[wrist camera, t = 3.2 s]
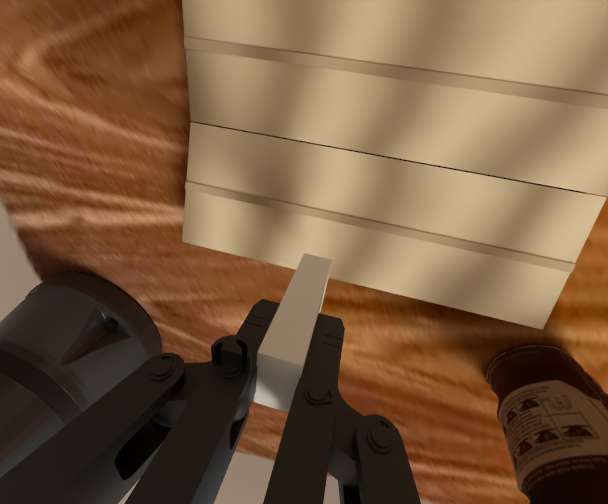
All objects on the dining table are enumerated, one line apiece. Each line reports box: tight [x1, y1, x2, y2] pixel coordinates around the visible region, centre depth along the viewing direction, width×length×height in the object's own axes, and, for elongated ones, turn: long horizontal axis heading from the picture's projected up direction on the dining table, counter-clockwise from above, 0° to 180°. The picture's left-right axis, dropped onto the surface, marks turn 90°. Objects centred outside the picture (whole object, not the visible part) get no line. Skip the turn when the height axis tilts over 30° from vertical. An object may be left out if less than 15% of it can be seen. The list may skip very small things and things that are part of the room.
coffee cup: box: [486, 345, 608, 504], centre depth 17 cm, size 9×8×13 cm
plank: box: [182, 122, 606, 330], centre depth 17 cm, size 24×8×1 cm, turn 82°
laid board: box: [182, 0, 608, 196], centre depth 14 cm, size 24×8×1 cm, turn 82°
